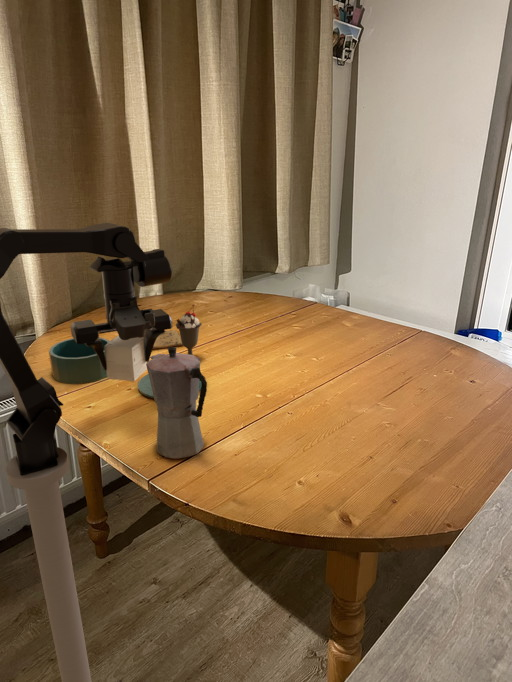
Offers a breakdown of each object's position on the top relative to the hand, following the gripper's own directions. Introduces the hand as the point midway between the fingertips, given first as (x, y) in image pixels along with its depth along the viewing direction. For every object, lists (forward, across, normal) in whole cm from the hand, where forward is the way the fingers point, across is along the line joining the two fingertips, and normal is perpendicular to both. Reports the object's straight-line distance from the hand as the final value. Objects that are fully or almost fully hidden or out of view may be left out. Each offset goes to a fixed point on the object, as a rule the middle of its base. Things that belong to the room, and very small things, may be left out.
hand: (126, 365), depth 101 cm
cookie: (+11, +20, +38) cm, 44 cm away
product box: (+2, 0, 0) cm, 2 cm away
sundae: (+12, +22, +21) cm, 32 cm away
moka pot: (+12, +5, -17) cm, 21 cm away
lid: (+11, +12, +8) cm, 18 cm away
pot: (+11, -4, +27) cm, 30 cm away
